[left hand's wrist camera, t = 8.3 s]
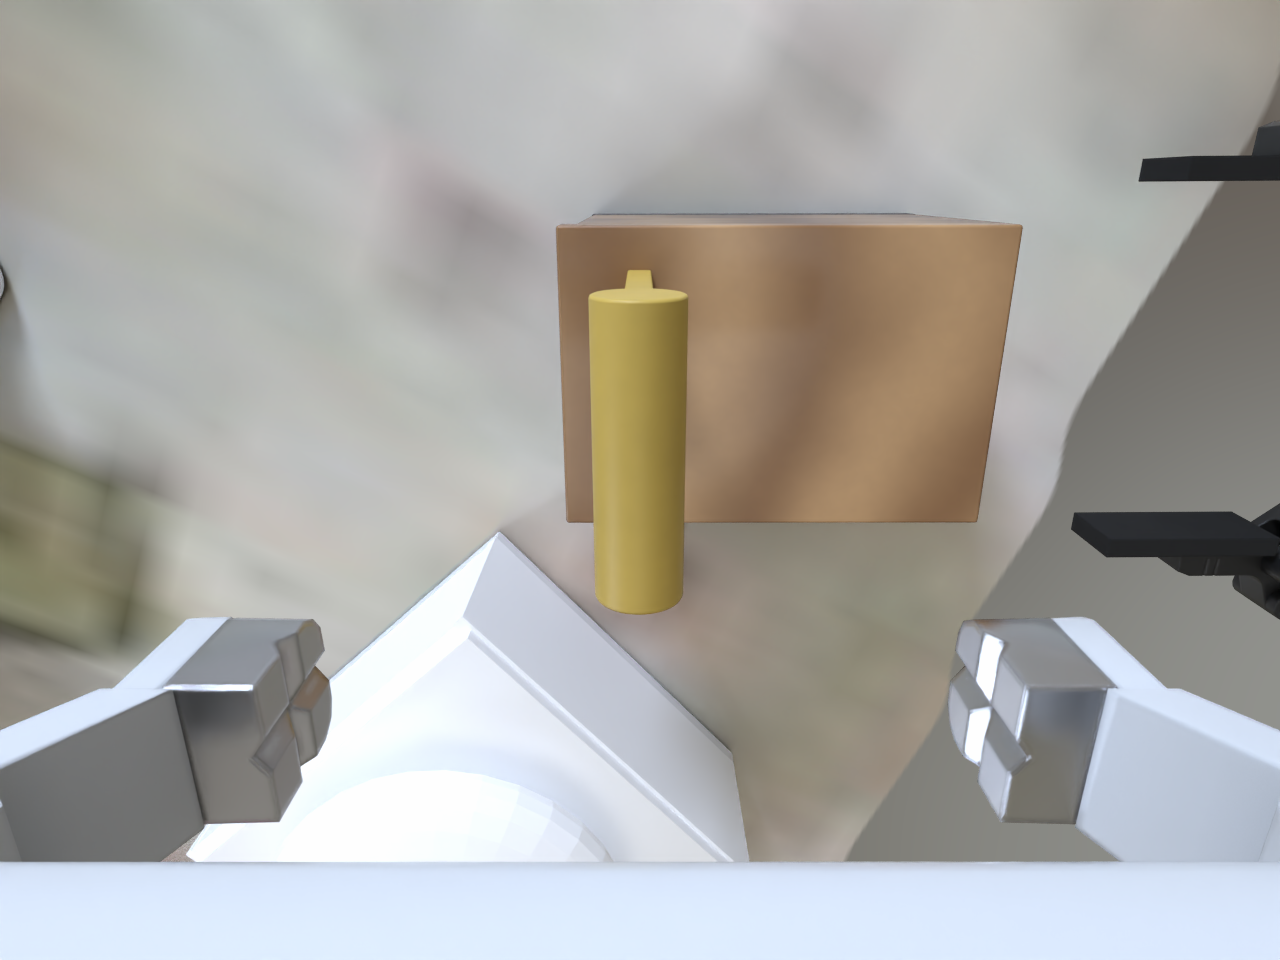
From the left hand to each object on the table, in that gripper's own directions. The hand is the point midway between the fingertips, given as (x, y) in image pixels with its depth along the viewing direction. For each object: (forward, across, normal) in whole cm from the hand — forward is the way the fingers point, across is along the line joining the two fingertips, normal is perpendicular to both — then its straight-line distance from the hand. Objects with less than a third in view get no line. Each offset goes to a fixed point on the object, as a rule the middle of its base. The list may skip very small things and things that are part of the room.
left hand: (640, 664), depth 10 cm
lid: (+17, -4, 0) cm, 17 cm away
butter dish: (+26, +7, +22) cm, 35 cm away
